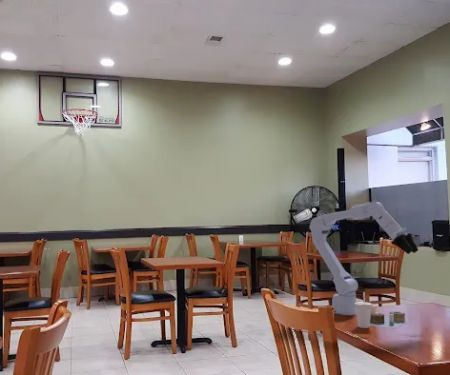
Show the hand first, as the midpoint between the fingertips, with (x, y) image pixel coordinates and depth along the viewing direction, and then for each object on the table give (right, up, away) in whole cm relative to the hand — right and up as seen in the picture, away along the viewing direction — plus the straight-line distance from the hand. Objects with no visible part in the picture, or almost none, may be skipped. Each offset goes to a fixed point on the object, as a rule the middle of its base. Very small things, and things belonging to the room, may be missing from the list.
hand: (413, 251), depth 187 cm
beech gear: (-6, -27, +1) cm, 28 cm away
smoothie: (-22, -28, -9) cm, 37 cm away
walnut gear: (-15, -27, -2) cm, 31 cm away
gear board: (-11, -28, -2) cm, 30 cm away
